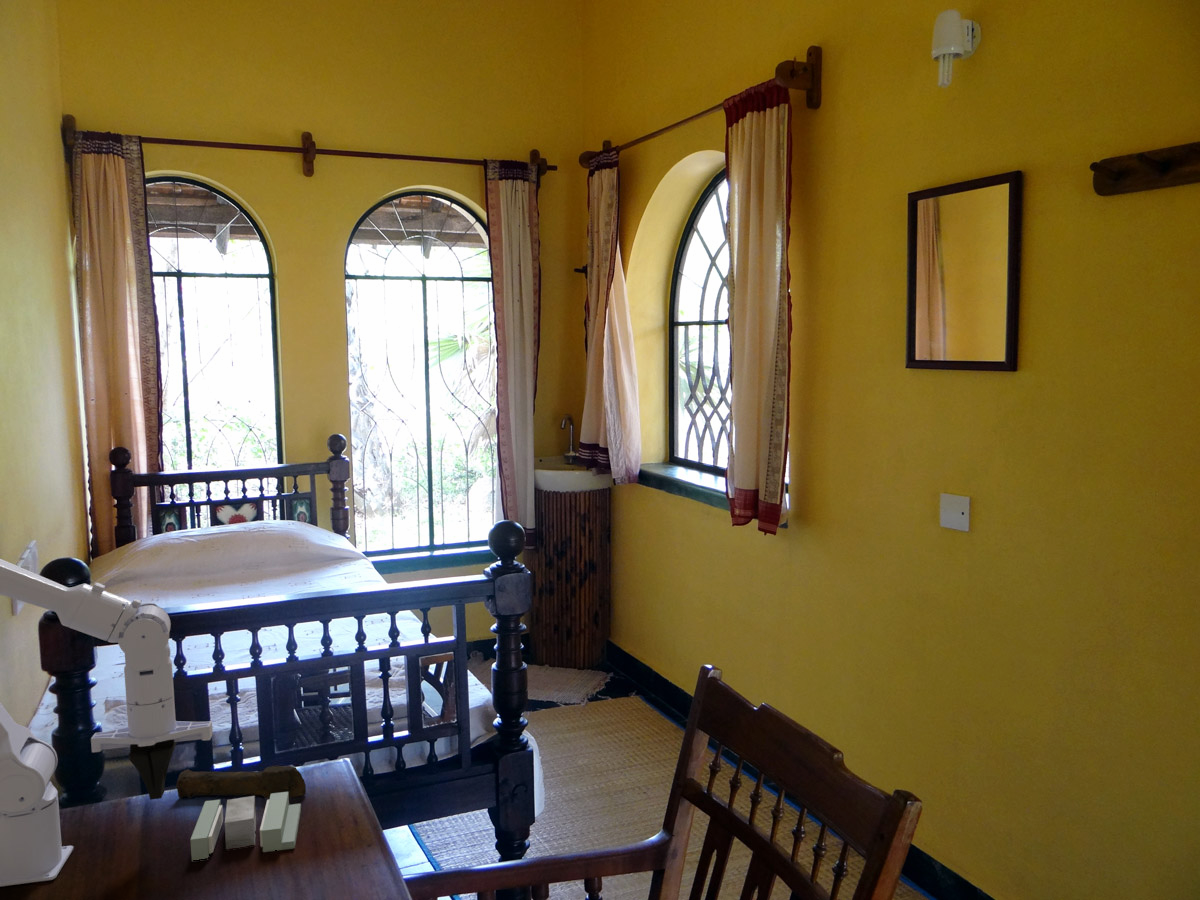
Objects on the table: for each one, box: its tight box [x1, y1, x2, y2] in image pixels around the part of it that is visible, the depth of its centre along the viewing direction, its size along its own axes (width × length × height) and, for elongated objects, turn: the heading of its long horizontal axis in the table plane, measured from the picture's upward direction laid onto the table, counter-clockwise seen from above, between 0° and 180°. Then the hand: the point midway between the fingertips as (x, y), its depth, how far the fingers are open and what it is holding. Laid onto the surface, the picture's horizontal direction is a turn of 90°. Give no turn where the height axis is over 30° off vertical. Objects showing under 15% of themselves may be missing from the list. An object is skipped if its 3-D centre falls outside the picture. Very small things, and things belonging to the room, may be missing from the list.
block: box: [224, 795, 257, 850], centre depth 129 cm, size 4×7×4 cm, turn 19°
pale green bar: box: [259, 792, 302, 853], centre depth 130 cm, size 4×11×3 cm, turn 13°
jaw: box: [190, 799, 224, 862], centre depth 128 cm, size 2×11×3 cm, turn 14°
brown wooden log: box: [176, 765, 307, 800], centre depth 140 cm, size 19×4×5 cm, turn 85°
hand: (157, 795), depth 126 cm, fingers closed
